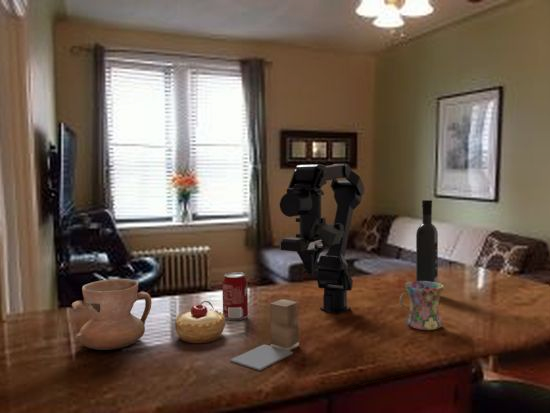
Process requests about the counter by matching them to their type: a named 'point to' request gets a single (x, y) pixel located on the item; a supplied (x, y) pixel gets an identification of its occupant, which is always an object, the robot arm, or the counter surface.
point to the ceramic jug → (112, 314)
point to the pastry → (200, 324)
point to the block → (284, 324)
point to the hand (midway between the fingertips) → (310, 274)
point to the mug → (423, 304)
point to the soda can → (235, 296)
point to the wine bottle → (427, 247)
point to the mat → (261, 357)
